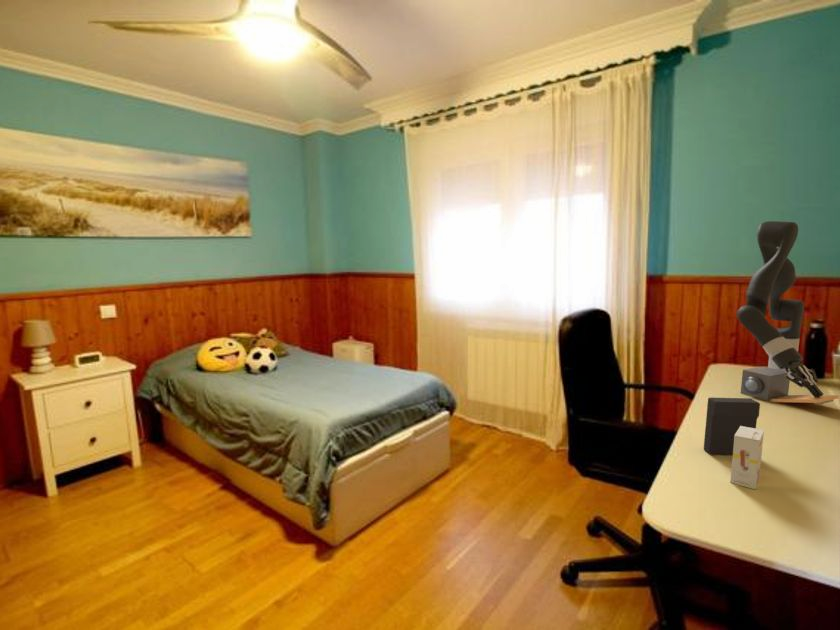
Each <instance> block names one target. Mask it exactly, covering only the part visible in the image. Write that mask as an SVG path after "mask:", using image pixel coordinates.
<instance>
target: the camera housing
mask: <svg viewBox="0 0 840 630" xmlns="http://www.w3.org/2000/svg"><path fill="white" fill-rule="evenodd" d="M786 375H788V372H786V371H783V370H778V369H773V368H769V367H768V366H765V365H764V366H757V367H753V368H747V369H742V376H741V385H740V386H741V387H740V394H741V395H745V396H749V397H752V398H756V399H759V400H764V401H769V402H770V400H771V399H774V398H779V397H783V396H788V395H789V391H790V390H789V389H790V382H791V380H789V379H787V378H786Z"/></svg>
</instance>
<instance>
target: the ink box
mask: <svg viewBox="0 0 840 630" xmlns="http://www.w3.org/2000/svg"><path fill="white" fill-rule="evenodd" d="M764 434H765V430H764V429H760V428H756V429H755V428H750V427H744V426H740V427H739V429H738V430H737V432H736V434H735V435H734V448H733V455H732V461H731V471H730V481H729V482H730V483H731V484H735V485H738V486H743V487H746V488H749V489H752V490H756V488H757V486H758V483H759V482H758V480H759V477H760V473H761V472H760V471H761V465H762V464H761V463H762V454H763V443H764Z"/></svg>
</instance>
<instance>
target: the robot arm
mask: <svg viewBox="0 0 840 630" xmlns="http://www.w3.org/2000/svg"><path fill="white" fill-rule="evenodd" d="M798 233H799V226H798V223H796V222H794V221H776V220H773V221H771V220H769V221H764V222H762V223H760V224H759V226H758V228H757V233H756V238H757V239H756V240H757V244H758V247H759V252H760V254H761V257H762V260H763V261H762V262H763V265H762V267H759V269H758V270H756V272H754V274H753V276H751V279H750V281H749V283H748V287H747V290H746V295H745V297H746V303H745V305H743V306H740V308H738V309H737V312H736V318H737V320H738V321H739V322H740V323H741V325H742V326H743V327H745V328H746V329H747V331H748V332H749V333H750V334H751V335H752V336H753V337H754V338H755V340H756V341H757V342H758V344H759V345H760V346H761V348H763V349H764V351H765V353H766V354H767V355H768V362H767V363H768V365H767V367H769V368H773V369H778V370H783V371H786V372H788V375H786V378H787V379H789V380H790V382H792V383H794V384H795V385H796V386H798V387H800V388H804V389H807V390H808V392H809V393H810V395H813V396H814V397H815V398H817V397H820V396H823V395H824V393H823V391H822V390H821V389H820V388H819V386H817V383H819V382H818V377H817V374H816V371H815V370H814V368H810V369H809V368H808V367H807V366H806V365H805V364H803V363H802V361H803V360H804V358H803V356H802V355H801V354H800V352H799V345H800V338H801V337H800V336H801V329H802V323H803V317H804V312H805V303H804V301H803V300H800V299H787V298H781V297H782V296H783V294H785V293H786V292H787V291H788V290H790V289H791V287H793V286H794V284H795V282H796V280H797V276H796V268H795V265H794V262H792V261H791V260H790V259H789V258H788V257H789V254H791V253H790V252H791V251H792V249H793V247H794V245H795V243H796V241H797V238H798ZM768 309H769V315H770V318H771V319H772V320H775V321H780V322H781V321H782V322H790V324H789V325H786V326H783V327H778V328H776V327H775V326H774V325H773V324H771V323H770V322H769V321H768V320H767V319H766V316H767V315H766V314H767V311H768ZM746 329H745V330H746Z"/></svg>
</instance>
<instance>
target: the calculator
mask: <svg viewBox="0 0 840 630" xmlns="http://www.w3.org/2000/svg"><path fill="white" fill-rule="evenodd" d="M706 405H707V406H706V407H707V408H706V419H705V429H704V430H705V431H704V441H703V450H704V451H705V452H706V453H708V454H709V455H710V456H713V455H714V456H733V448H734V435H735V434H736V432H737V430H738V429H739V427H740V426H744V427H750V428H755V429H757V421H758V418H759V416H760V410H761V409H760V408H761V403H760V402H758V401H756V400H754V399H752V398H749V397H743V398H741V397H708V399H707V404H706Z"/></svg>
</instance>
